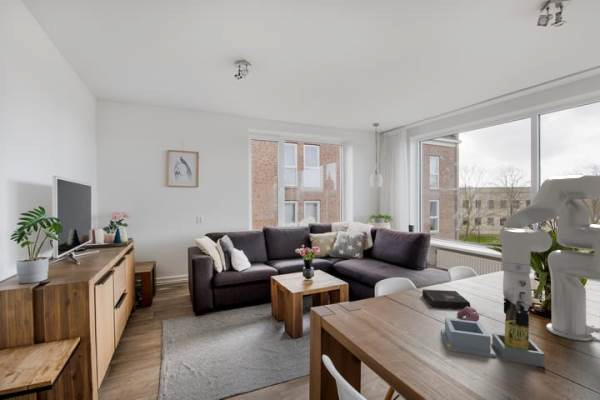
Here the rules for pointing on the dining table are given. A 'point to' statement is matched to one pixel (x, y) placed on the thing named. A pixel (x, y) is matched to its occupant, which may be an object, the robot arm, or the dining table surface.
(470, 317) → the video game controller
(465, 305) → the portable cd player
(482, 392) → the dining table surface
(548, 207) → the robot arm
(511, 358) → the grey square frame
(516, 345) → the sauce bottle
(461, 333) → the socket dock
